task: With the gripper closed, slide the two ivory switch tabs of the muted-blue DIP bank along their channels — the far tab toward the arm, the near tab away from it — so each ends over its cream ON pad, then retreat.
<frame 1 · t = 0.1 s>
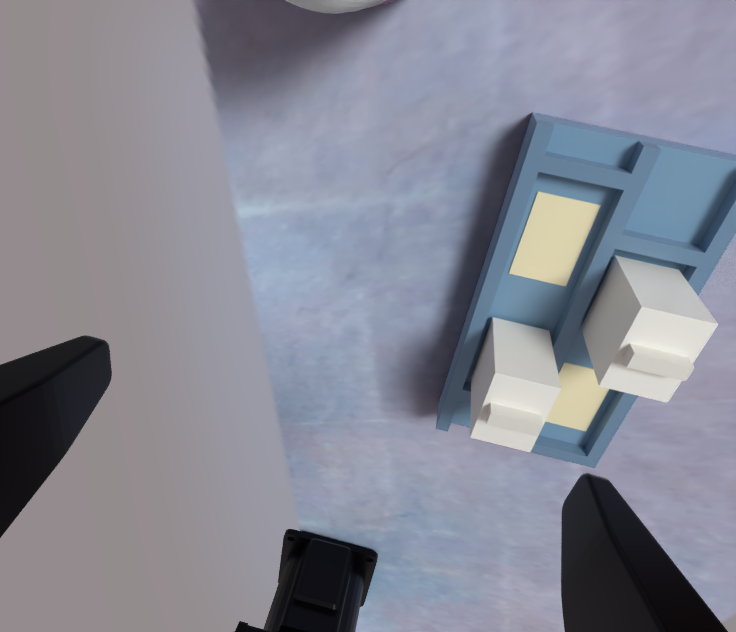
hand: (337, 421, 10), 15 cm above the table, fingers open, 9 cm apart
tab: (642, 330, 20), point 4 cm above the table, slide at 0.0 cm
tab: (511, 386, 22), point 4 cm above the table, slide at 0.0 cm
dip bank: (564, 303, 24), on the table
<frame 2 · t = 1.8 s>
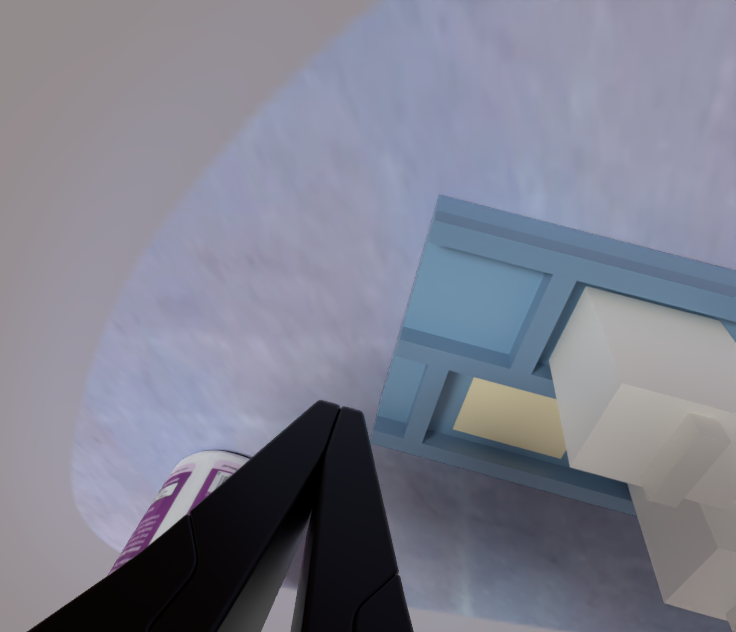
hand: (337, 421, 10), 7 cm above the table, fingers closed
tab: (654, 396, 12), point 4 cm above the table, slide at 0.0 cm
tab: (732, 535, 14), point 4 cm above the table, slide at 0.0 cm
dip bank: (638, 375, 16), on the table
pill bottle: (236, 485, 23), on the table
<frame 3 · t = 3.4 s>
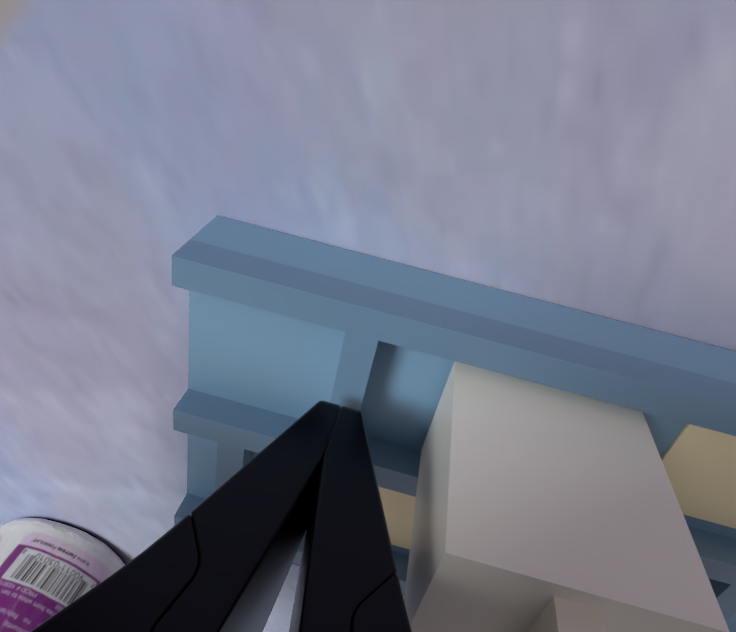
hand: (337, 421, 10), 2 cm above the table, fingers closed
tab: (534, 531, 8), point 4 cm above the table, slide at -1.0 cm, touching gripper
dip bank: (510, 448, 13), on the table
pill bottle: (73, 555, 19), on the table
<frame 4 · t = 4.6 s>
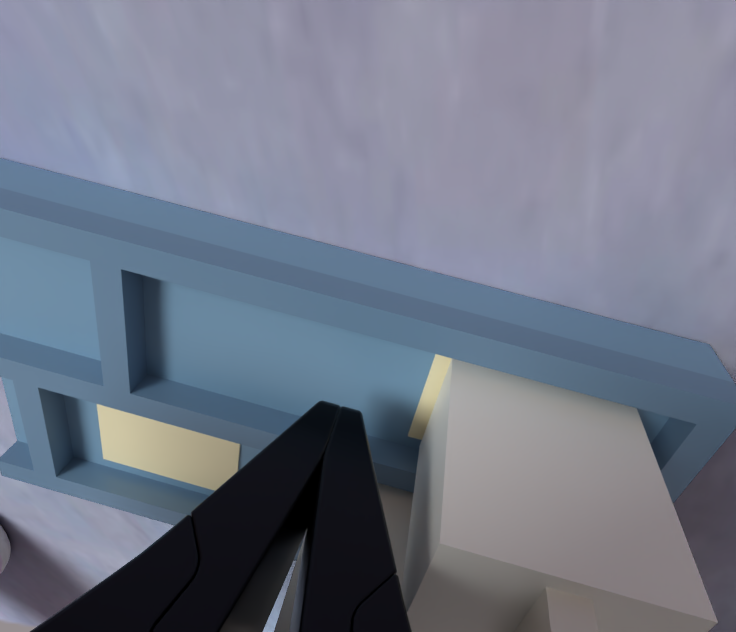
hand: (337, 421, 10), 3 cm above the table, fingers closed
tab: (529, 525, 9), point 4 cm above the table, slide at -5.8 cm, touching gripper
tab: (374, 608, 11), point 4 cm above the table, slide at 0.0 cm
dip bank: (316, 392, 13), on the table
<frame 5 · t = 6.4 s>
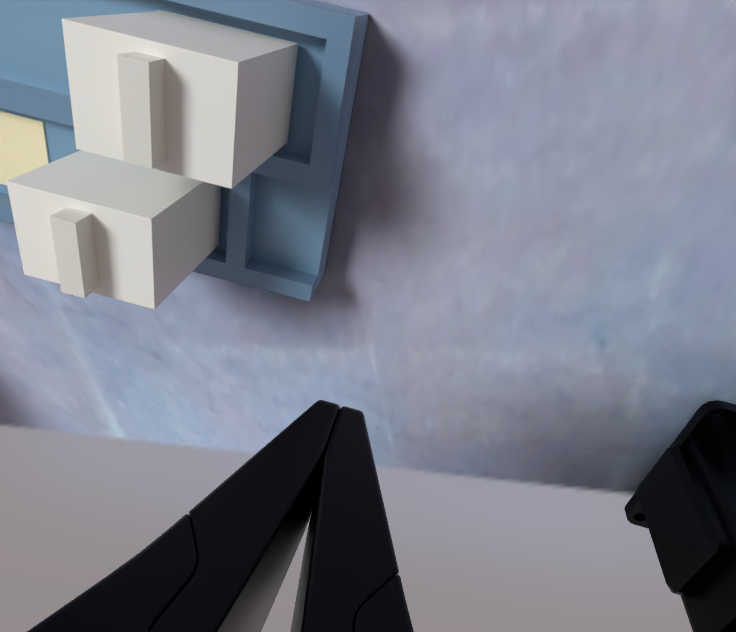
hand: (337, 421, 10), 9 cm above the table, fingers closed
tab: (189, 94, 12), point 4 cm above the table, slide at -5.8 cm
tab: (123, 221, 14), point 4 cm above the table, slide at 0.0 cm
dip bank: (109, 102, 16), on the table
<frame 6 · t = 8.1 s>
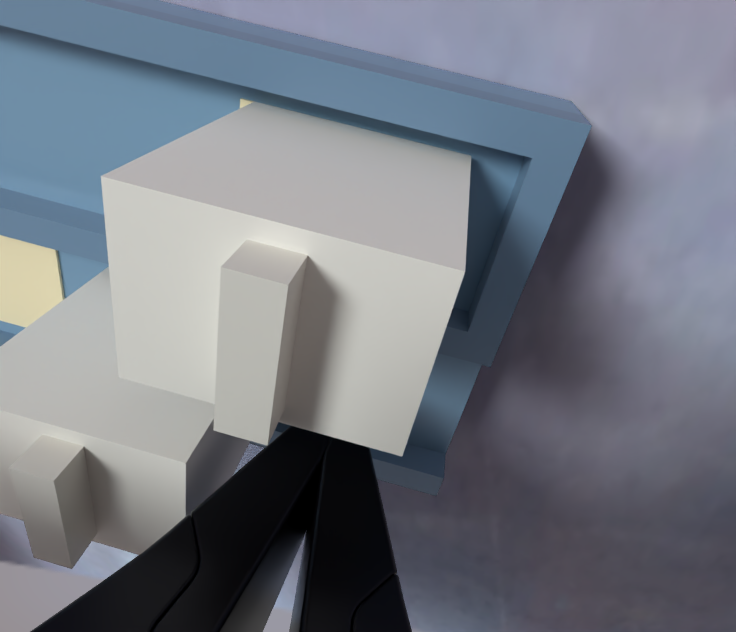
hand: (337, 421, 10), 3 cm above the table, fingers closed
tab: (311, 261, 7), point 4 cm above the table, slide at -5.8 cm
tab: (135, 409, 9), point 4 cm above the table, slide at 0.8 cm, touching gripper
dip bank: (151, 211, 11), on the table
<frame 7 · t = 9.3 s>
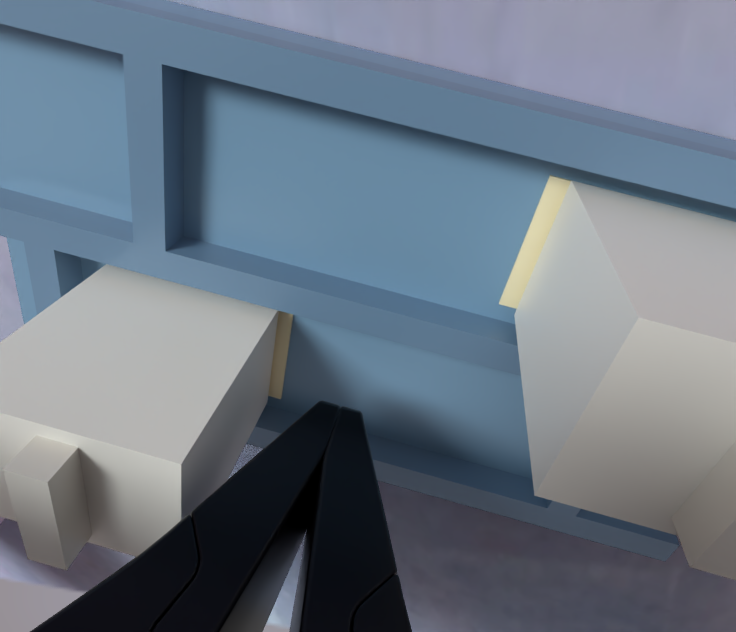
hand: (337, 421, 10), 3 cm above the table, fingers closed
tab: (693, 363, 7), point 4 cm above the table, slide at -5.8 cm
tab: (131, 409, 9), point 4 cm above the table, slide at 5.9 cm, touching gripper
dip bank: (379, 271, 11), on the table
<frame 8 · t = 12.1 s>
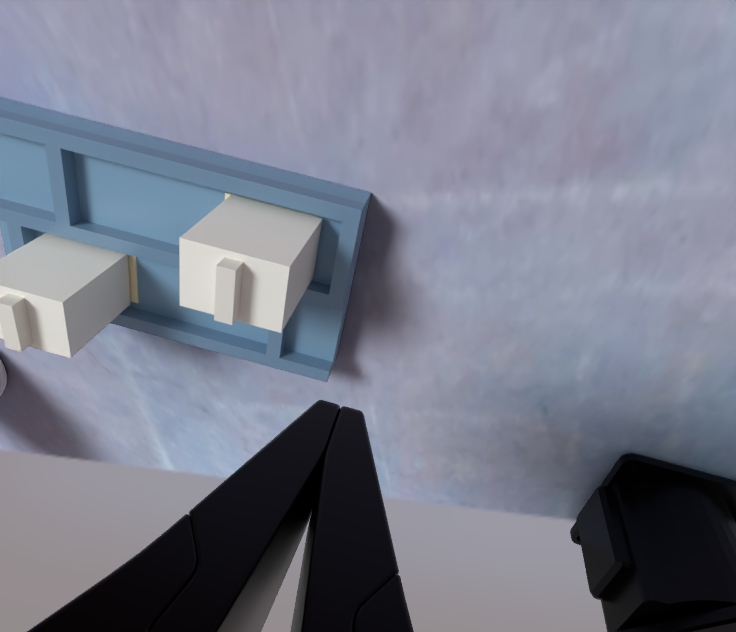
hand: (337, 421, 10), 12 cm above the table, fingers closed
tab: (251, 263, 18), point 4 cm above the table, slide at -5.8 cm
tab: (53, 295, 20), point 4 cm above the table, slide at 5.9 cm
dip bank: (182, 237, 22), on the table
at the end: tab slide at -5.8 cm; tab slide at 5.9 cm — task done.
